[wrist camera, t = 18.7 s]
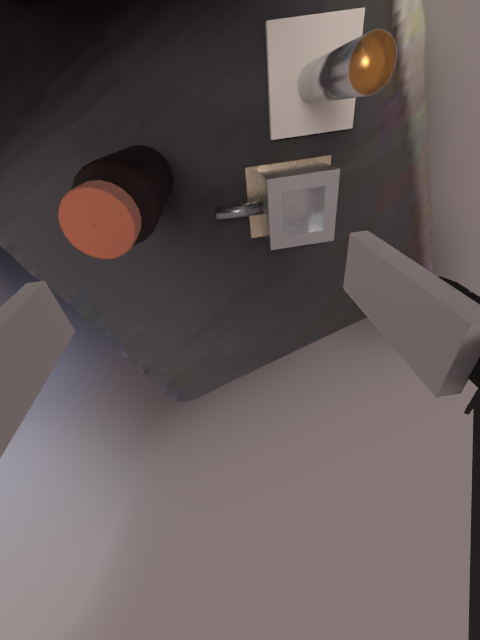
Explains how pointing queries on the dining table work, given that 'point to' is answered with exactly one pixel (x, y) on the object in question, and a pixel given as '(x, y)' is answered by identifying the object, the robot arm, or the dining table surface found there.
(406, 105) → the dining table surface
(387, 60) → the metal cylinder
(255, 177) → the grey box
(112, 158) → the bottle
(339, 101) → the pad
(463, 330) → the robot arm
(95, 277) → the dining table surface
